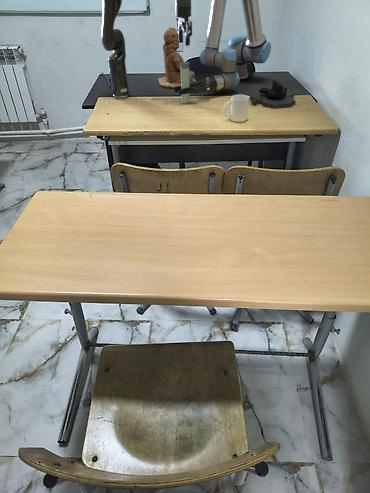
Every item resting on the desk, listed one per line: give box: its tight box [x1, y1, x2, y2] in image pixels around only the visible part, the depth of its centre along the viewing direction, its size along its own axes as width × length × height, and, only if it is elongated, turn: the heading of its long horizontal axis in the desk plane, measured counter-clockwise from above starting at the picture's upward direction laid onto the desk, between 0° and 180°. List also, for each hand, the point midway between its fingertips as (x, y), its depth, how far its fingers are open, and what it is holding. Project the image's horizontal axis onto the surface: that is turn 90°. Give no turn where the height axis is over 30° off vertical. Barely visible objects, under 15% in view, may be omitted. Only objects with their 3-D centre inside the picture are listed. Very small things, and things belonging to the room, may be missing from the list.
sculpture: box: [157, 27, 197, 89], centre depth 214 cm, size 27×24×30 cm
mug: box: [222, 94, 250, 123], centre depth 170 cm, size 12×8×10 cm
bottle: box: [180, 67, 191, 104], centre depth 189 cm, size 4×4×19 cm
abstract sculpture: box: [249, 79, 296, 109], centre depth 189 cm, size 25×9×20 cm
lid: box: [180, 61, 191, 69], centre depth 184 cm, size 5×5×2 cm
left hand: (184, 44), depth 178 cm, fingers open, 7 cm apart
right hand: (176, 91), depth 189 cm, fingers closed on bottle, 5 cm apart
